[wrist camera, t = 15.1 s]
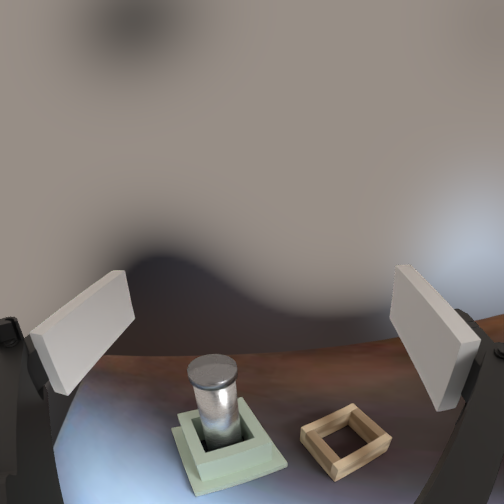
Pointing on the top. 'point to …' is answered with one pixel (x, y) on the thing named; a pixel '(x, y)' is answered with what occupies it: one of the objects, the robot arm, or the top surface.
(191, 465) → the socket
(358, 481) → the top surface
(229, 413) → the silver capped cylinder
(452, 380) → the robot arm
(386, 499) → the top surface
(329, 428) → the mount
